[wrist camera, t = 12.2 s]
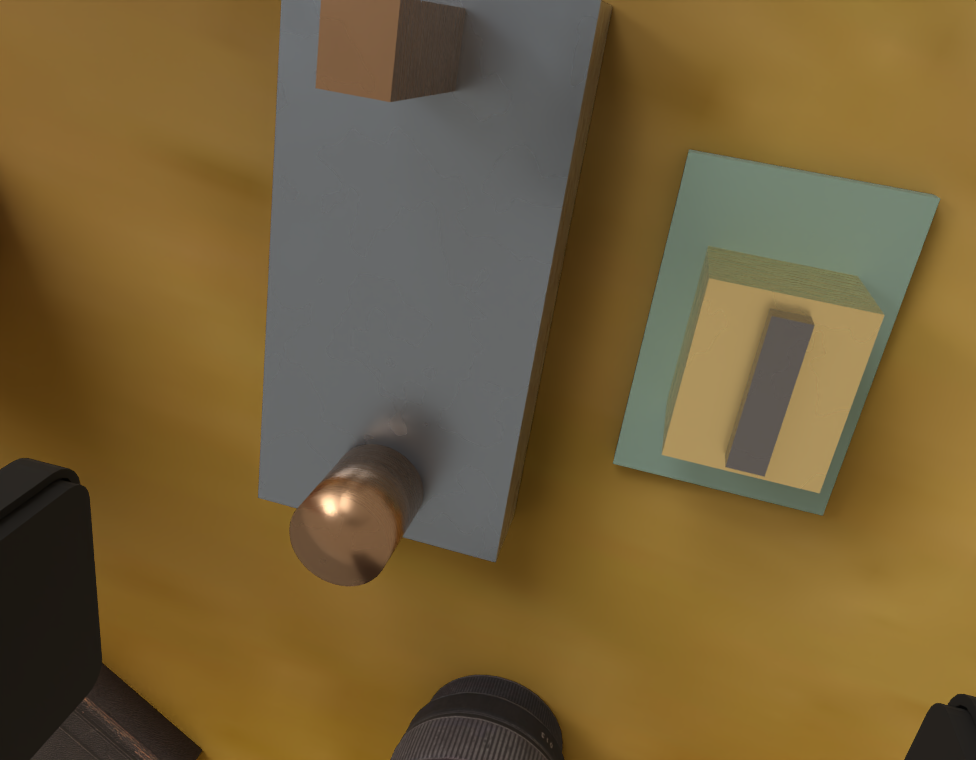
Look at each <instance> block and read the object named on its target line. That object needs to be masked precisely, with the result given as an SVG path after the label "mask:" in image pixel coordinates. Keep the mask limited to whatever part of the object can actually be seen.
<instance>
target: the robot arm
mask: <svg viewBox="0 0 976 760" xmlns="http://www.w3.org/2000/svg"><path fill="white" fill-rule="evenodd" d="M101 666H102V653H101V640H100V627H99V614H98V601H97V588H96V575H95V562H94V548H93V535H92V522H91V509H90V497H89V493H88V490H87V489H86V487H84V486H82V485H80V481H79V477H78V476H77V474H76V473H75V472H74V471H72V470H70V469H68V468H64V467H60V466H57V465H53V464H49V463H45V462H41V461H37V460H33V459H29V458H21V459H18V460H15V461H13V462H11V463H10V464H8V465H7V466H5V467H3V468H2V469H0V760H30V759H31V758H32V757H33V756H34V755H35V754H36V753H37V751H38V750H39V749H40V748H41V747H42V746H43V745H44V744H45V742H46V741H47V740H48V739H49V738H50V737H51V736H52V735H53V733H54V732H55V731H56V730H57V729H58V728H59V727H60V726H61V724H62V723H63V722H64V721H65V720H66V719H67V718H68V717H69V715H70V714H71V713H72V712H73V711H74V710H75V709H76V708H77V706H78V705H79V704H80V703H81V702H82V701H83V700H84V699H85V697H86V696H87V695H88V694H89V693H90V691H91V690H92V689H93V687H94V685H95V683H96V681H97V679H98V677H99V674H100V670H101ZM904 760H976V697H974V696H970V695H966V694H957V695H956V696H955V697H953V698H952V699H951V700H950V702H949V703H948V705H945V704H941V703H935V704H934V705H933V706H931V708H930V709H929V711H928V712H927V714H926V716H925V718H924V720H923V722H922V724H921V727H920V729H919V731H918V733H917V735H916V737H915V739H914V741H913V743H912V745H911V747H910V749H909V751H908V753H907V755H906V757H905V759H904Z"/></svg>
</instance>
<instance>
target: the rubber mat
mask: <svg viewBox="0 0 976 760" xmlns="http://www.w3.org/2000/svg"><path fill="white" fill-rule="evenodd" d="M939 201H940V198H939V197H937V196H935V195H933V194H928V193H922V192H917V191H912V190H906V189H901V188H895V187H890V186H885V185H879V184H874V183H868V182H863V181H858V180H852V179H847V178H841V177H836V176H831V175H825V174H820V173H814V172H809V171H804V170H798V169H793V168H787V167H782V166H777V165H771V164H766V163H760V162H755V161H750V160H744V159H739V158H733V157H728V156H723V155H717V154H712V153H706V152H701V151H696V150H690V149H689V152H688V156H687V160H686V164H685V168H684V172H683V176H682V181H681V185H680V189H679V193H678V197H677V201H676V205H675V209H674V213H673V218H672V222H671V226H670V230H669V234H668V238H667V242H666V246H665V251H664V255H663V259H662V263H661V267H660V271H659V275H658V279H657V283H656V288H655V292H654V296H653V300H652V304H651V308H650V312H649V316H648V320H647V325H646V329H645V333H644V337H643V341H642V345H641V349H640V353H639V357H638V362H637V366H636V370H635V374H634V378H633V382H632V386H631V390H630V395H629V399H628V403H627V407H626V411H625V415H624V419H623V423H622V427H621V432H620V436H619V440H618V444H617V448H616V452H615V456H614V461H613V464H616V465H620V466H624V467H628V468H632V469H637V470H641V471H645V472H649V473H653V474H657V475H661V476H665V477H669V478H673V479H677V480H681V481H685V482H689V483H693V484H697V485H701V486H705V487H709V488H713V489H717V490H721V491H725V492H729V493H733V494H737V495H741V496H745V497H749V498H754V499H758V500H762V501H766V502H770V503H774V504H778V505H782V506H786V507H790V508H794V509H798V510H802V511H806V512H810V513H814V514H818V515H822V516H823V514H824V511H825V508H826V506H827V503H828V500H829V498H830V495H831V492H832V489H833V487H834V484H835V481H836V479H837V476H838V473H839V471H840V468H841V465H842V462H843V460H844V457H845V454H846V452H847V449H848V446H849V444H850V441H851V438H852V435H853V433H854V430H855V427H856V425H857V422H858V419H859V417H860V414H861V411H862V409H863V406H864V403H865V400H866V398H867V395H868V392H869V390H870V387H871V384H872V382H873V379H874V376H875V373H876V371H877V368H878V365H879V363H880V360H881V357H882V355H883V352H884V349H885V346H886V344H887V341H888V338H889V336H890V333H891V330H892V328H893V325H894V322H895V319H896V317H897V314H898V311H899V309H900V306H901V303H902V301H903V298H904V295H905V293H906V290H907V287H908V284H909V282H910V279H911V276H912V274H913V271H914V268H915V266H916V263H917V260H918V257H919V255H920V252H921V249H922V247H923V244H924V241H925V239H926V236H927V233H928V230H929V228H930V225H931V222H932V220H933V217H934V214H935V212H936V209H937V206H938V204H939ZM708 246H712V247H717V248H722V249H727V250H731V251H736V252H741V253H746V254H751V255H756V256H761V257H766V258H771V259H776V260H781V261H786V262H791V263H796V264H800V265H805V266H810V267H815V268H820V269H825V270H830V271H835V272H840V273H845V274H850V275H855V276H858V277H859V279H860V280H861V282H862V283H863V284H864V286H865V287H866V289H867V290H868V292H869V293H870V295H871V296H872V297H873V299H874V300H875V302H876V303H877V305H878V306H879V308H880V309H881V310H882V312H883V313H884V318H883V321H882V324H881V326H880V329H879V332H878V335H877V337H876V340H875V343H874V346H873V348H872V351H871V354H870V356H869V359H868V362H867V365H866V367H865V370H864V373H863V376H862V378H861V381H860V384H859V387H858V389H857V392H856V395H855V398H854V400H853V403H852V406H851V409H850V411H849V414H848V417H847V420H846V422H845V425H844V428H843V430H842V433H841V436H840V439H839V441H838V444H837V447H836V450H835V452H834V455H833V458H832V461H831V463H830V466H829V469H828V472H827V474H826V477H825V480H824V483H823V485H822V488H821V491H820V493H816V492H812V491H808V490H803V489H799V488H795V487H791V486H787V485H783V484H779V483H775V482H771V481H767V480H763V479H758V478H754V477H750V476H746V475H742V474H738V473H734V472H730V471H726V470H722V469H718V468H713V467H709V466H705V465H701V464H697V463H693V462H689V461H685V460H681V459H677V458H672V457H668V456H664V455H662V446H663V436H664V426H665V415H666V405H667V399H668V395H669V391H670V388H671V384H672V380H673V376H674V373H675V369H676V365H677V361H678V357H679V354H680V350H681V346H682V342H683V339H684V335H685V331H686V327H687V323H688V320H689V316H690V312H691V308H692V305H693V301H694V297H695V293H696V289H697V286H698V282H699V278H700V274H701V271H702V267H703V263H704V259H705V255H706V252H707V248H708Z"/></svg>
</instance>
